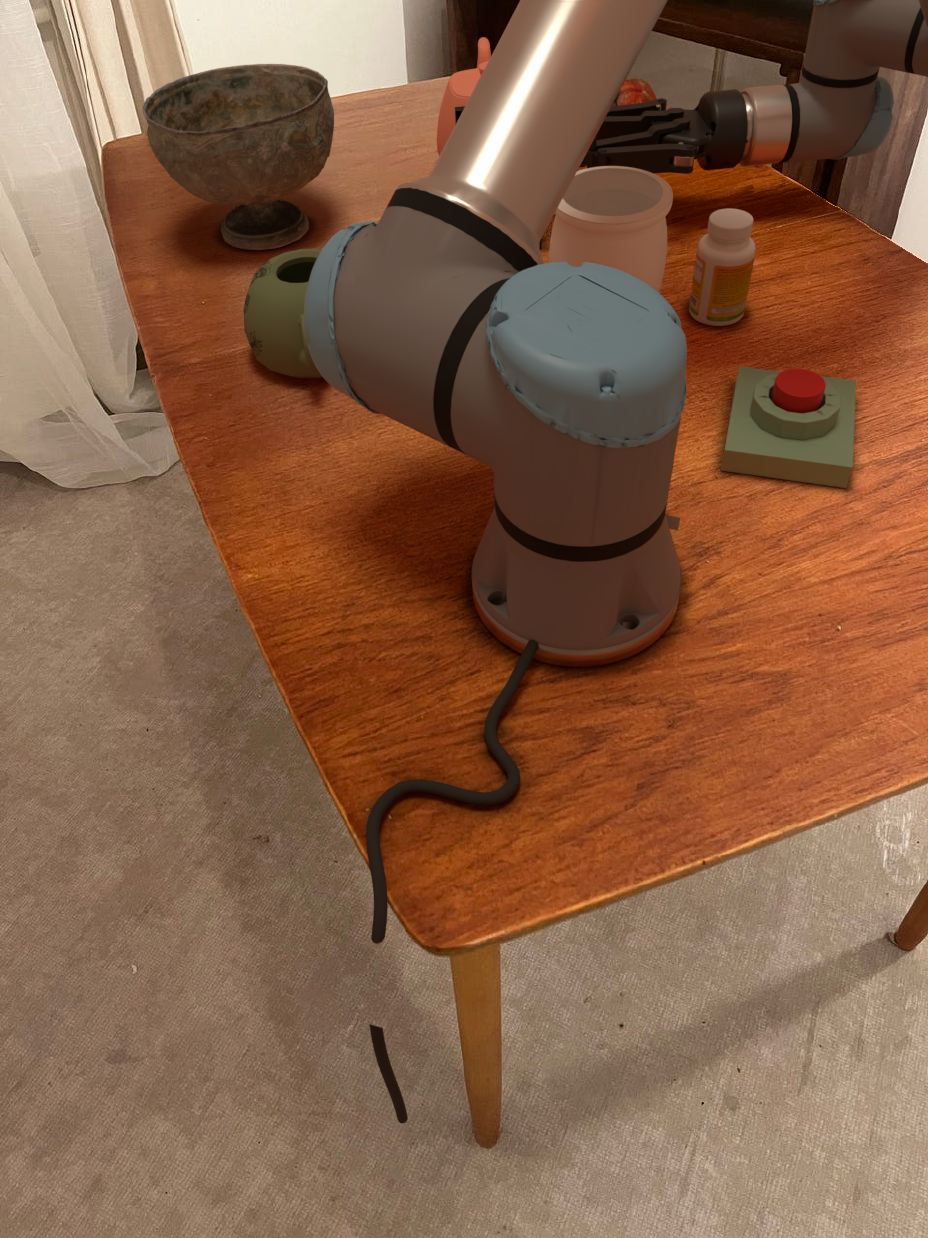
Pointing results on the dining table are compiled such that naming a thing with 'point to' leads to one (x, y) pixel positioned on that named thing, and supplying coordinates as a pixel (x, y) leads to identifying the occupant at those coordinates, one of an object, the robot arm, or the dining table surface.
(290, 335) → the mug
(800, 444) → the button box
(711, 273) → the supplement bottle
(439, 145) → the teapot
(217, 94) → the bowl
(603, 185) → the jar
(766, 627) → the dining table surface
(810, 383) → the button
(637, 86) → the pomegranate
